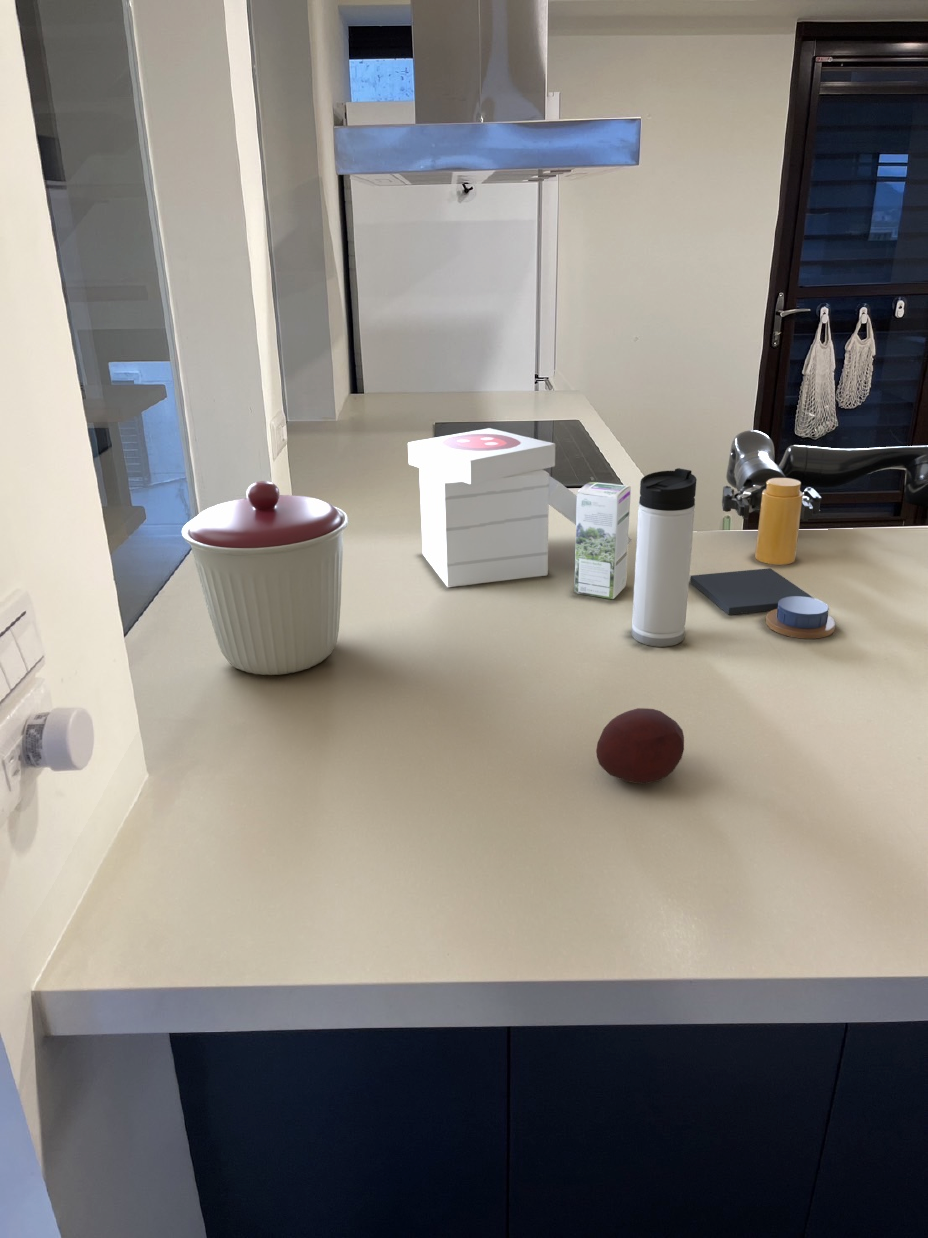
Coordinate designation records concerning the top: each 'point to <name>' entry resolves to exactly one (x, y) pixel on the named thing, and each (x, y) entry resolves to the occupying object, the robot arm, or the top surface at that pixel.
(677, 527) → the travel mug
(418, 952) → the top surface
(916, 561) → the top surface
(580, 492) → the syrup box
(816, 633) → the coaster
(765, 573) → the mat
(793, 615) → the jar lid
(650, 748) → the potato
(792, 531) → the jar
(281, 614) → the canister
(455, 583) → the pizza boxes
